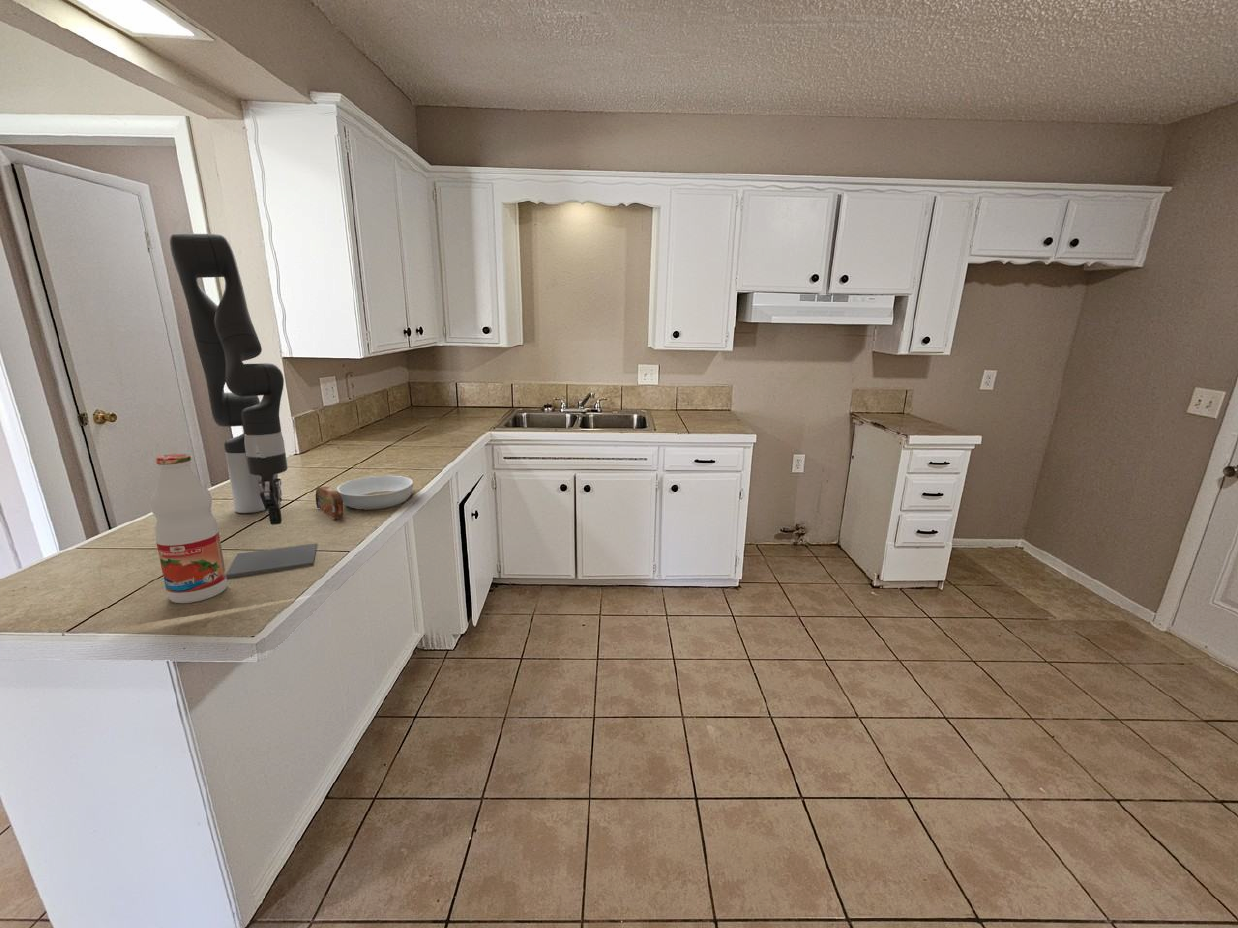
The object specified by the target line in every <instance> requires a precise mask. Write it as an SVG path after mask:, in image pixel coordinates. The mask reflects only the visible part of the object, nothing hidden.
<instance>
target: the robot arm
mask: <svg viewBox="0 0 1238 928" xmlns="http://www.w3.org/2000/svg"><path fill="white" fill-rule="evenodd" d="M169 248H170V253H171V257H172V260H173V264H174V267H175V270H176V273H177V275H178V279H179V282H180V285H181V288H182V291H183V295H184V298H185V301H186V304H187V308H188V314H189V318H190V323H191V326H192V333H193V336H194V341H195V345H196V349H197V352H198V355H199V358H200V362H201V365H202V369H203V373H204V376H205V382H206V387H207V392H208V393H207V394H208V397H209V398H208V400H209V404H210V411H211V415H212V418H213V420H214V423H215V424H216V425H217V426H219V427H223V428H224V427H225V428H226V427H230V428H231V427H242V428H243V433H242V434H240V435H237V436H235V437H232V438H228V439H227V440H226V441H224V447H223V448H224V452H225V458H226V463H227V470H228V476H229V482H230V488H231V495H232V501H233V506H234V511H235V512H236V513H239V514H251V513H258V512H259V513H260V512H263V511H266V510H267V512H268V518H269V524H270V525H272V526H274V525H280V524H281V523H282V521H283V518H282V512H281V506H282V501H283V499H282V495H283V492H282V483H283V482H282V477H279V475H280V474H282V473H285V472H286V471H287V470H288V461H287V460H288V459H287V455H286V447H285V440H284V437H283V434H282V433H283V432H282V426H281V421H280V408H281V407H280V406H281V401H282V400H281V399H282V395H283V391H284V383H285V380H284V375H283V373H282V370H281V369H280V368H279V367H278V366H277V365H275V364H273V363H265V362H264V363H244V362H245V361H248V360H251V359H256V358H257V357H258V356H260V355H261V353H262V352H263V348H262V344H261V342H260V340H259V337H258V334H257V331H256V330H255V327H254V325H253V321H252V318H251V316H250V312H249V309H248V303H247V300H246V295H245V290H244V286H243V283H242V279H241V275H240V271H239V267H238V264H237V260H236V257H235V254H234V251H233V249H232V246H231V243H229V241H228V239H227V238H226V237H225V236H223V235H221V234H215V233H183V232H182V233H180V232H178V233H173V234H171V235H170V237H169ZM199 278H200V279H201V278H205V279H206V278H223V279H224V291H223V294H222V296H221V298H220V299H221V300H220V302H219V303H218V305H217V304H216V303H215V302H214V301H213V300H212V298H210V297H209V296H208V294H207V293H206V292H205V291H204V290H203V288H202V287H201V286H200V283H199V281H198V279H199ZM225 384H226V387H227V389H228V390H229V391H230V392H225V391H224V388H225ZM259 396H262V399H261V401H260V398H259ZM278 474H279V475H278Z"/></svg>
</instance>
